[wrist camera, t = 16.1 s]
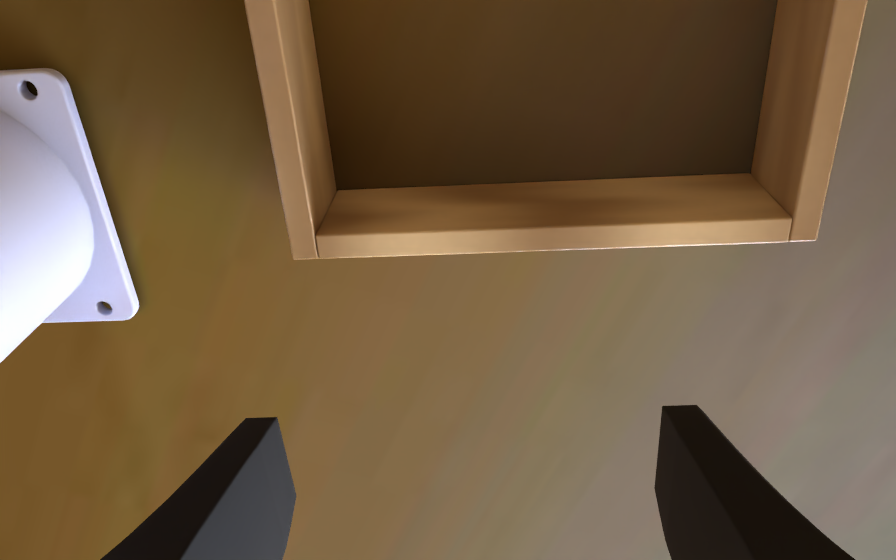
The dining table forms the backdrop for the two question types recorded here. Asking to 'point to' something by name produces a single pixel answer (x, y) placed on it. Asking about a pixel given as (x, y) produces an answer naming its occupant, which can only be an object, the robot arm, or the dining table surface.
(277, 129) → the birch box
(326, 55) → the dining table surface
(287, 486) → the robot arm
